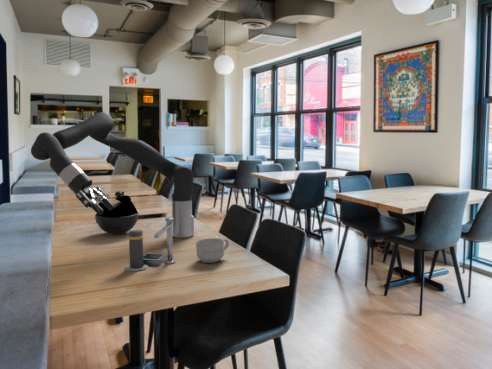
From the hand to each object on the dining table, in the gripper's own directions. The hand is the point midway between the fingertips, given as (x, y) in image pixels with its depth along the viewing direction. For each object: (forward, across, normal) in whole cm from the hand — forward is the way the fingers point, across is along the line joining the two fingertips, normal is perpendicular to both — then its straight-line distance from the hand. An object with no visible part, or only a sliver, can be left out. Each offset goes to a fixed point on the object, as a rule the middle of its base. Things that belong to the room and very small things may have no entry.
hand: (107, 211), depth 156 cm
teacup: (+41, -13, +11) cm, 44 cm away
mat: (+22, 0, -7) cm, 23 cm away
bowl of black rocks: (+2, -48, -28) cm, 55 cm away
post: (+29, -8, 0) cm, 30 cm away
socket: (+24, -8, -5) cm, 26 cm away
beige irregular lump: (-4, -75, -34) cm, 82 cm away
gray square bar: (+20, 0, +10) cm, 22 cm away
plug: (+22, 0, -7) cm, 23 cm away
